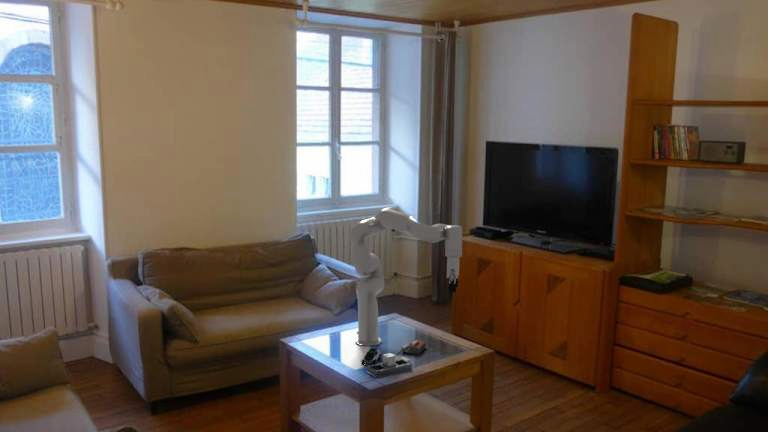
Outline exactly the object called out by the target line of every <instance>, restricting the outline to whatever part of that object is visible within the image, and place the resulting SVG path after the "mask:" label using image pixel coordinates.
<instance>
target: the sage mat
mask: <svg viewBox="0 0 768 432" xmlns="http://www.w3.org/2000/svg"><path fill="white" fill-rule="evenodd" d="M401 358H402V359H403V360H405V361H407V362H411V360H410V359H409V358H407V357H406V356H404V355H401V354H400V355H397V356H396V360H397V359H401Z"/></svg>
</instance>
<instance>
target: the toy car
mask: <svg viewBox="0 0 768 432" xmlns="http://www.w3.org/2000/svg"><path fill="white" fill-rule="evenodd" d="M381 352H382V351H381V350H380V349H378V348H372V347H371V348H369V350H368V351H367V352H365V353H366V354H365V355H363V357H362V360H361V366H362V365H364V364H365V365H366V364H371V365H375V364H377V360H378V361H381V360H382V354H381ZM365 365H364V366H365Z"/></svg>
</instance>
